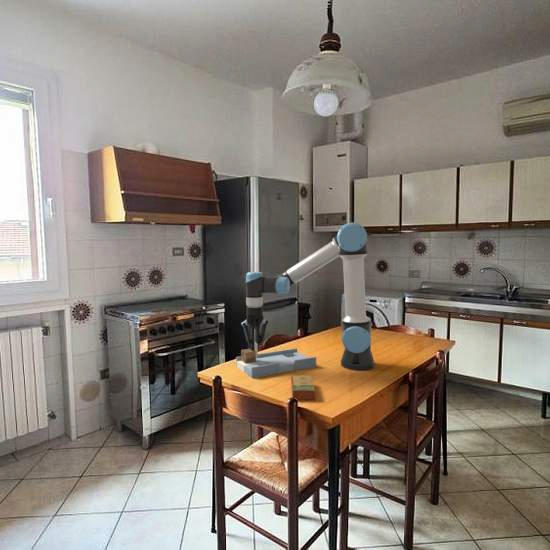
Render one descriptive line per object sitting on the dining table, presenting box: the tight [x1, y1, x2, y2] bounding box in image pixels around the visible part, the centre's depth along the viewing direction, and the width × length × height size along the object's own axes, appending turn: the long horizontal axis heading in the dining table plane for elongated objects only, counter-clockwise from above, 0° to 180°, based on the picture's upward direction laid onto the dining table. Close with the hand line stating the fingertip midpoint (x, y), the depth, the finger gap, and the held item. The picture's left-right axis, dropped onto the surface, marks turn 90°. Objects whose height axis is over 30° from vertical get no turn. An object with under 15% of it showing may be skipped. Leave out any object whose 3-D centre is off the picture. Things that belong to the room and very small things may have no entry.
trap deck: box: [235, 347, 317, 379], centre depth 183 cm, size 18×32×4 cm, turn 118°
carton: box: [290, 375, 316, 402], centre depth 151 cm, size 8×16×4 cm, turn 179°
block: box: [240, 348, 256, 364], centre depth 181 cm, size 5×5×5 cm
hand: (255, 357), depth 182 cm, fingers closed
